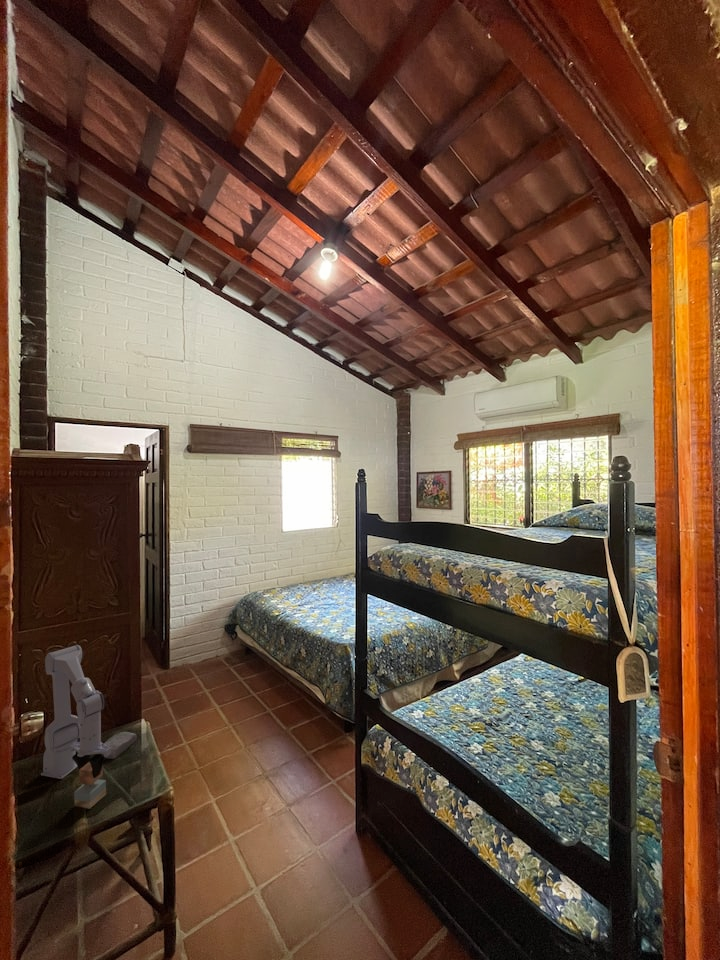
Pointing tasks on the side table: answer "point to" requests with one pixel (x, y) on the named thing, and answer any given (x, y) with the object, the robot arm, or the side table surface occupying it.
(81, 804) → the brown block
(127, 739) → the stone block
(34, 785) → the side table surface
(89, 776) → the terracotta cube
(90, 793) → the top block
